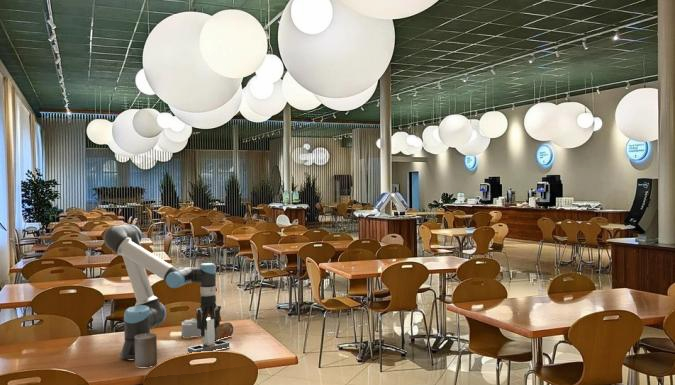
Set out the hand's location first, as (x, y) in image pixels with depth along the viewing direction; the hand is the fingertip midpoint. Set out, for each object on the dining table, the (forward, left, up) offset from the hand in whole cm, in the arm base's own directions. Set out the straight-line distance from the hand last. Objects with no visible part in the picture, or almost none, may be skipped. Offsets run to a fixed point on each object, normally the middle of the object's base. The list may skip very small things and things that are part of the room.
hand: (208, 341), depth 291 cm
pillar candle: (-33, 0, -5) cm, 33 cm away
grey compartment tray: (0, 0, -5) cm, 5 cm away
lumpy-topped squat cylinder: (+11, +33, -5) cm, 35 cm away
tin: (+17, +15, -5) cm, 23 cm away
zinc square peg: (0, 0, -3) cm, 3 cm away
